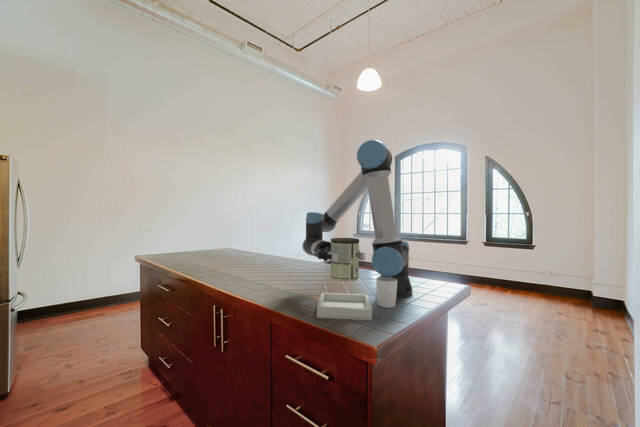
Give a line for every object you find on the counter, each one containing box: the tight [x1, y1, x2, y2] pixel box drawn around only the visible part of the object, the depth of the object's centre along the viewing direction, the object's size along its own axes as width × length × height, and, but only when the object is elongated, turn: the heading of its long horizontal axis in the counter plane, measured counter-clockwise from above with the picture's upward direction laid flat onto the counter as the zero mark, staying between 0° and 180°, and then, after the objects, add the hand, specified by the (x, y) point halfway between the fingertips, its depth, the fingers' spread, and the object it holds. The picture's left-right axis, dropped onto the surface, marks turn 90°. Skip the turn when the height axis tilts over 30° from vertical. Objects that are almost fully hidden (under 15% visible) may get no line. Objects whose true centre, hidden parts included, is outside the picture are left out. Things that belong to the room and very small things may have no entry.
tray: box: [316, 292, 373, 321], centre depth 104 cm, size 18×18×4 cm
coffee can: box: [330, 237, 360, 282], centre depth 104 cm, size 10×10×14 cm
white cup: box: [375, 276, 397, 309], centre depth 110 cm, size 8×8×10 cm
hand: (350, 257), depth 100 cm, fingers closed on coffee can, 10 cm apart
